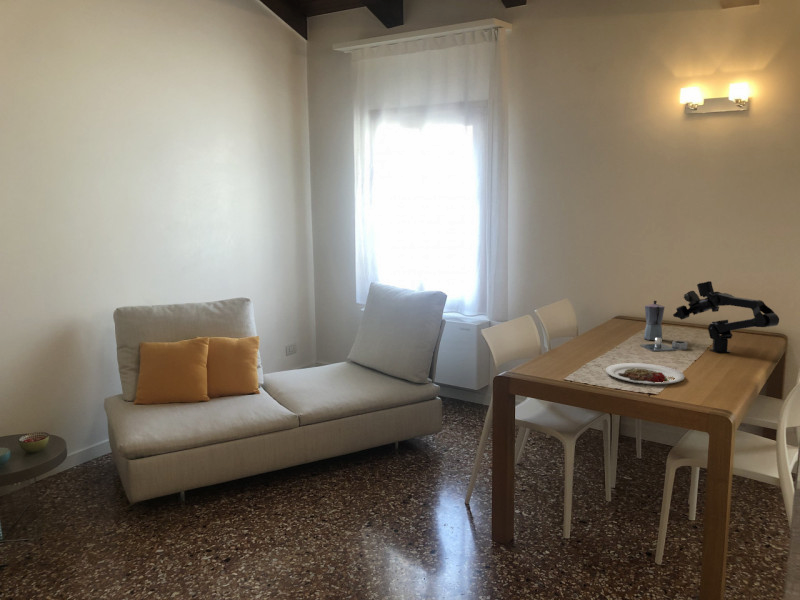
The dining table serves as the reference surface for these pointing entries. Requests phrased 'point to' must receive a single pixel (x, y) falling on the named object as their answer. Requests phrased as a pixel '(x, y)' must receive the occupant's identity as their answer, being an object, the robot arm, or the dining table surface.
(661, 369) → the plated food
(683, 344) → the ring
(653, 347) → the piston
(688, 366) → the dining table surface
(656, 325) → the moka pot
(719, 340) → the robot arm
